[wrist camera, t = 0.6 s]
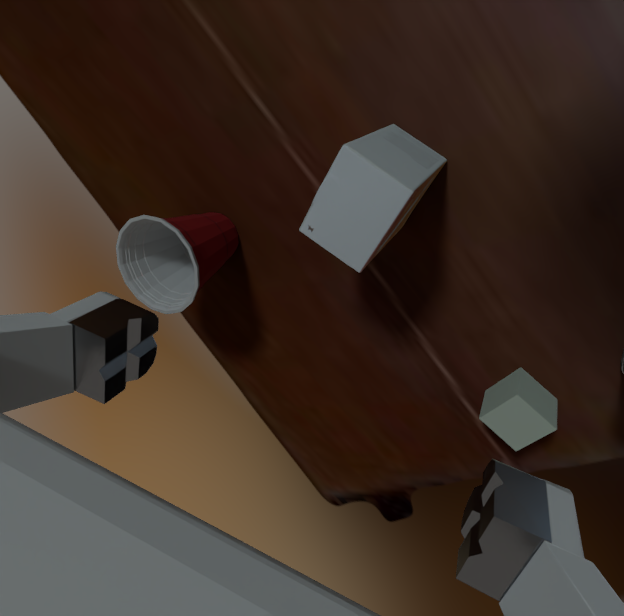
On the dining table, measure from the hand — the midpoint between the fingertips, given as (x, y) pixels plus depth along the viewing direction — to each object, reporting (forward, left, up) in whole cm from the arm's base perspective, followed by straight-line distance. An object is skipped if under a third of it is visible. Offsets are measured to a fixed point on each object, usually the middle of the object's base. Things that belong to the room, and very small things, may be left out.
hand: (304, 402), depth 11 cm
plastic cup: (+28, -18, -38) cm, 50 cm away
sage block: (+17, +20, -38) cm, 46 cm away
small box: (+8, -5, -38) cm, 39 cm away
